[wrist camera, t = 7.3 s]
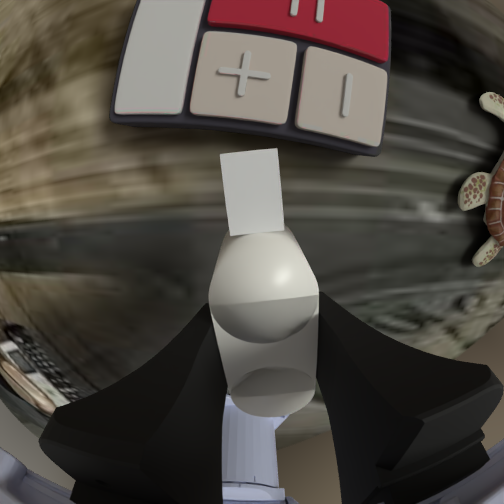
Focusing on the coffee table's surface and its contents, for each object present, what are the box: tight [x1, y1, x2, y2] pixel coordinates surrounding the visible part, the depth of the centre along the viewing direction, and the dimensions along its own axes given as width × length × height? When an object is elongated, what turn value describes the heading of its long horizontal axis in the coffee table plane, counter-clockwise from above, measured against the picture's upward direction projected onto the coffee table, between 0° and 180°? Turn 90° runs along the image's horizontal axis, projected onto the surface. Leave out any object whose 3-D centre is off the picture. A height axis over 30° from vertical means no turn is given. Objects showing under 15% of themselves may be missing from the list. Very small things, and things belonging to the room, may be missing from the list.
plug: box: [209, 148, 319, 417], centre depth 9 cm, size 9×3×4 cm, turn 6°
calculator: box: [109, 0, 391, 157], centre depth 12 cm, size 11×4×15 cm
